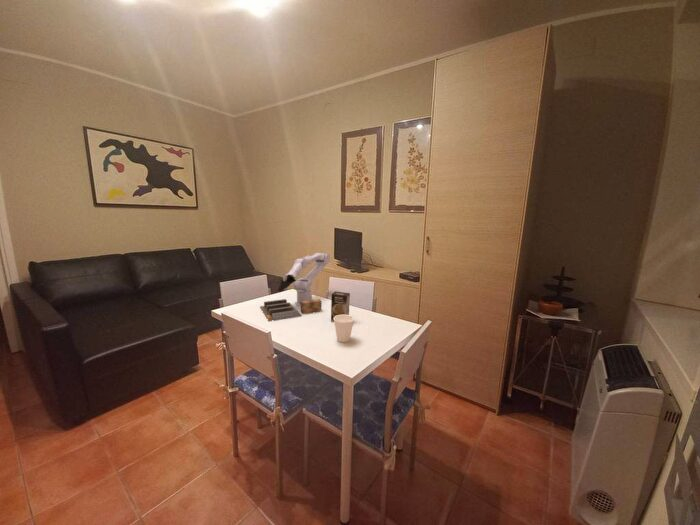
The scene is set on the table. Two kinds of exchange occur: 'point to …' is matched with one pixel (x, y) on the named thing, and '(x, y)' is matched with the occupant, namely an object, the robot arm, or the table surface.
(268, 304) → the rack
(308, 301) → the brown wooden block
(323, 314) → the table surface
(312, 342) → the table surface
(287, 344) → the table surface
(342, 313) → the coffee box
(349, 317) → the cup
